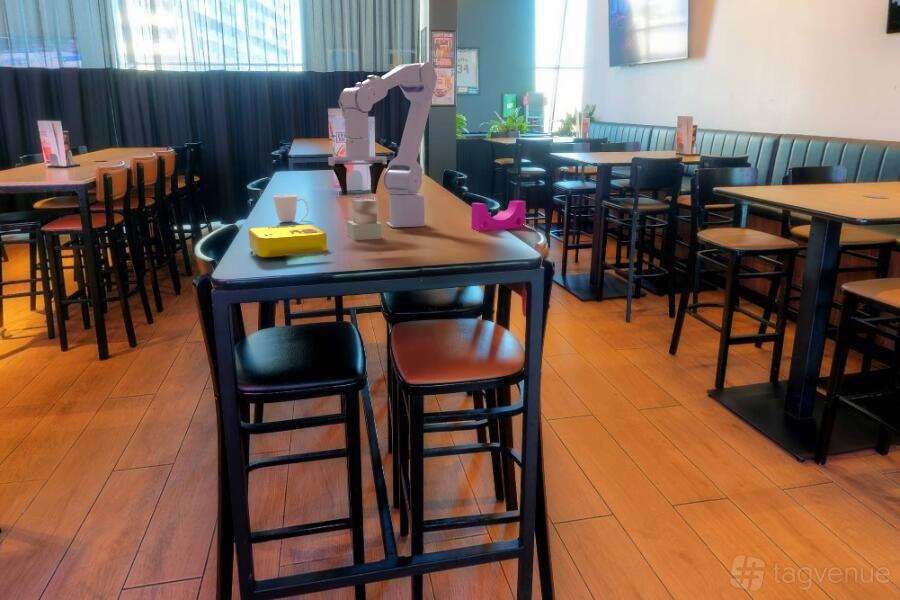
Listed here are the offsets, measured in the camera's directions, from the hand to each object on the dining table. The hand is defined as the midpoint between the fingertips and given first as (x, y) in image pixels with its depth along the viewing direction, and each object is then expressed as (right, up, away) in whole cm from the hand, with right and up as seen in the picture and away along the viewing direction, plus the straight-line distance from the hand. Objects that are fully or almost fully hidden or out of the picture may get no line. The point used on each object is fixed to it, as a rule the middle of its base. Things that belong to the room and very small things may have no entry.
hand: (359, 194), depth 155 cm
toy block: (+36, -8, +14) cm, 39 cm away
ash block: (+2, -7, -2) cm, 8 cm away
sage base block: (+2, -11, -1) cm, 11 cm away
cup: (-23, -5, +22) cm, 32 cm away
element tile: (-14, -16, -16) cm, 26 cm away
